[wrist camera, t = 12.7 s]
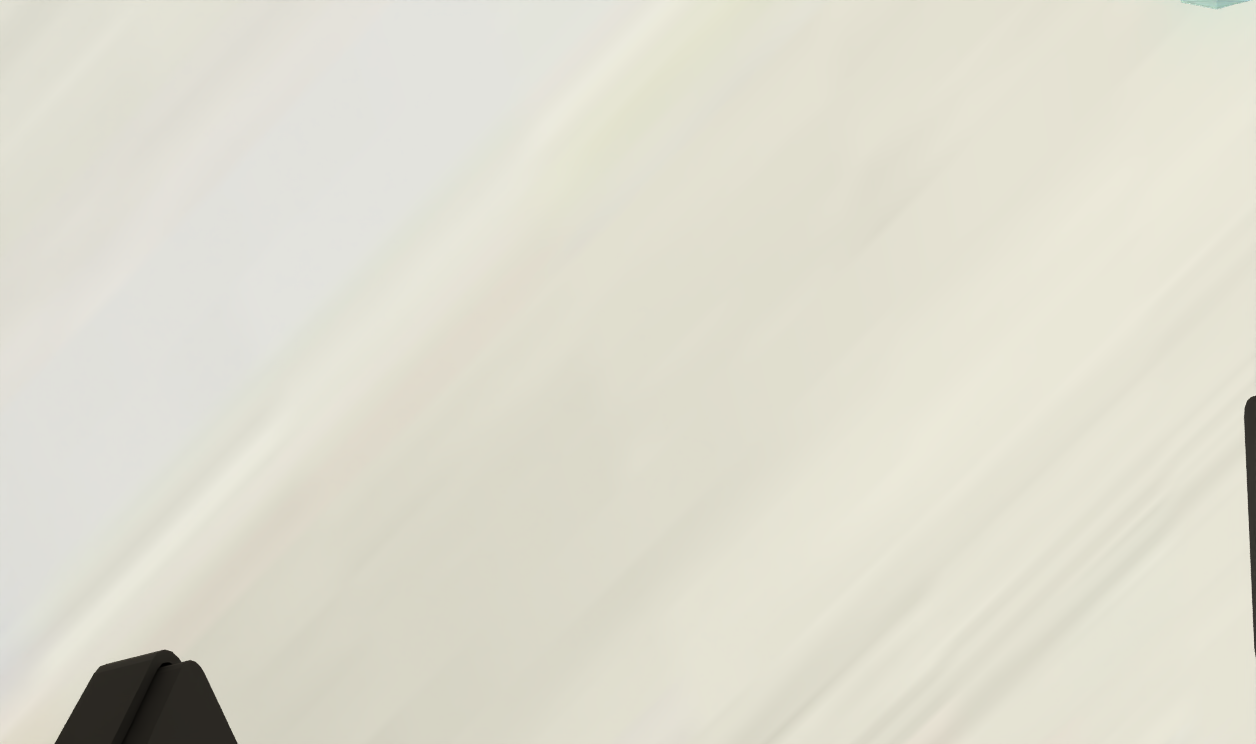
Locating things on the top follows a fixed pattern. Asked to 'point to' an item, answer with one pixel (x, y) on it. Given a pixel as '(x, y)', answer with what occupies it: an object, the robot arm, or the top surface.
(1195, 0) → the tray
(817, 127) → the top surface
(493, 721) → the top surface
